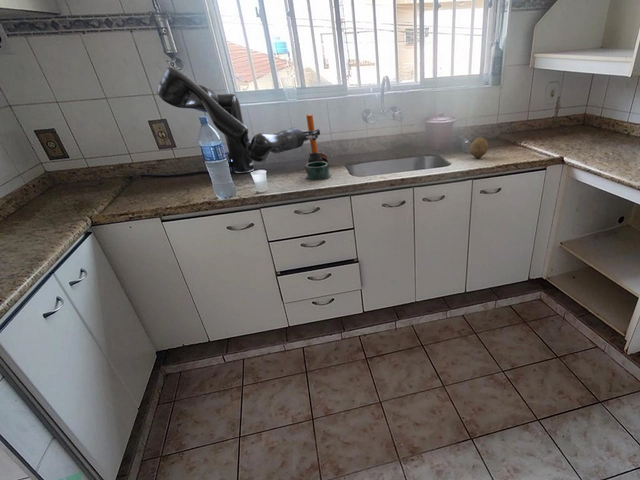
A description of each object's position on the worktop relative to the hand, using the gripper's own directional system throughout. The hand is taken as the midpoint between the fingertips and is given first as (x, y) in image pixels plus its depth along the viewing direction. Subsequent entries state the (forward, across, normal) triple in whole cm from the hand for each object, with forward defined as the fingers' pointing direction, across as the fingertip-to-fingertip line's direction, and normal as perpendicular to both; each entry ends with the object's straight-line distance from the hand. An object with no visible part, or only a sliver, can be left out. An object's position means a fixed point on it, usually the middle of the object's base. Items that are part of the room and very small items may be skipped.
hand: (316, 131), depth 166 cm
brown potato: (+53, +57, -19) cm, 80 cm away
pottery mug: (+11, -10, -19) cm, 24 cm away
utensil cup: (-3, 0, -19) cm, 19 cm away
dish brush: (-3, 0, -11) cm, 11 cm away
